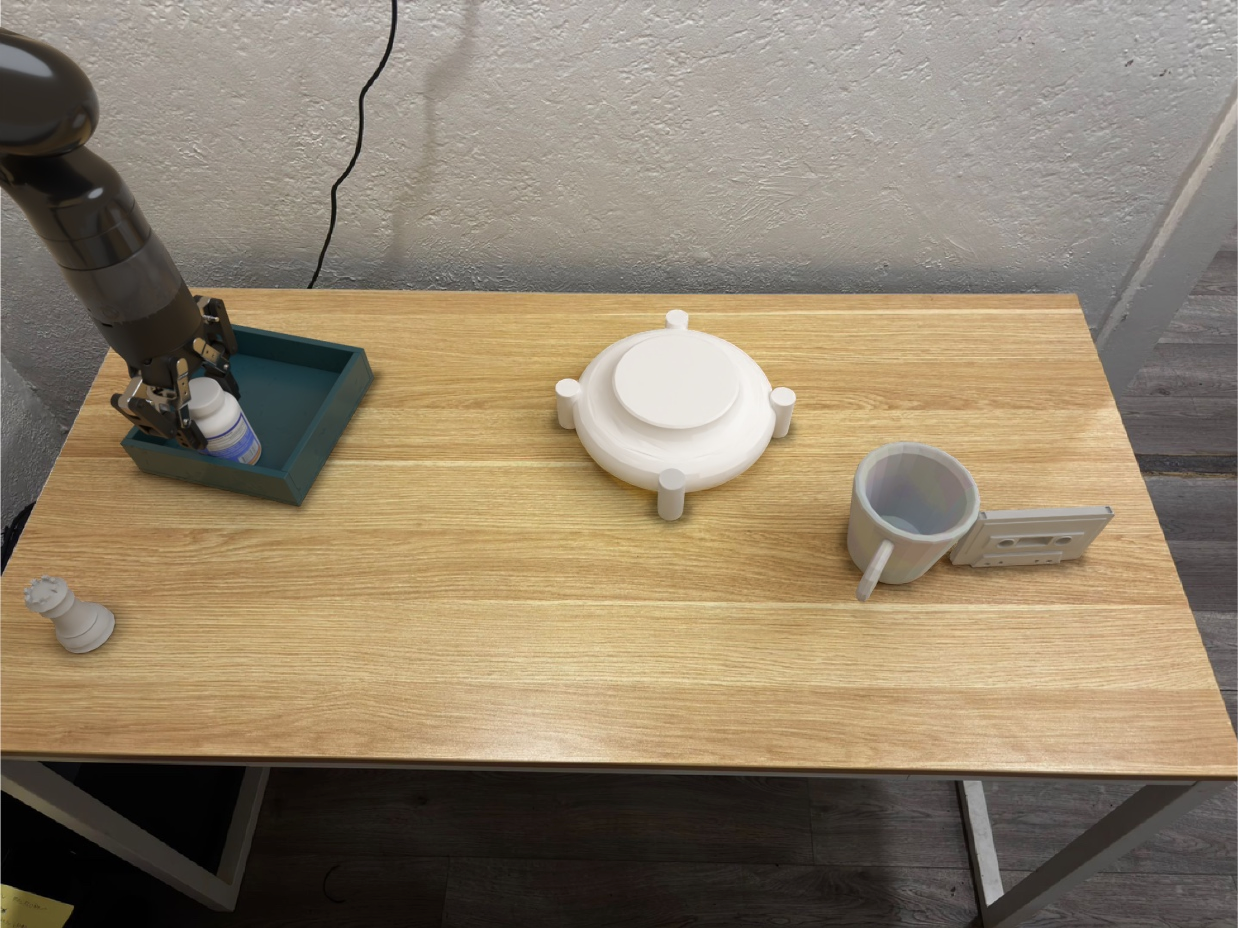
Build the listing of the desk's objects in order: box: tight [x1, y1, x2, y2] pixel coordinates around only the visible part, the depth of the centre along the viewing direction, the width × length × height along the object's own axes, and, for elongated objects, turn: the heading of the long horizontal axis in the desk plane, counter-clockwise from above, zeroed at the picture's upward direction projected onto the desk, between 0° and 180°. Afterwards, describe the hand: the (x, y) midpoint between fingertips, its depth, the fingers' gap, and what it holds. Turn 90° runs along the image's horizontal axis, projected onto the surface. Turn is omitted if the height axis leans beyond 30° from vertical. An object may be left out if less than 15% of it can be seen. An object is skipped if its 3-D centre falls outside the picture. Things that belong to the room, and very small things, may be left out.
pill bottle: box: [188, 377, 261, 465], centre depth 81 cm, size 5×5×10 cm
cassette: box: [949, 505, 1116, 568], centre depth 74 cm, size 12×2×8 cm, turn 93°
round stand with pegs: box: [554, 308, 797, 522], centre depth 84 cm, size 24×24×7 cm
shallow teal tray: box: [119, 323, 375, 507], centre depth 86 cm, size 18×18×5 cm
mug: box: [846, 440, 982, 603], centre depth 73 cm, size 10×15×10 cm
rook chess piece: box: [22, 574, 116, 654], centre depth 71 cm, size 4×4×8 cm
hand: (214, 421), depth 80 cm, fingers closed on pill bottle, 5 cm apart
